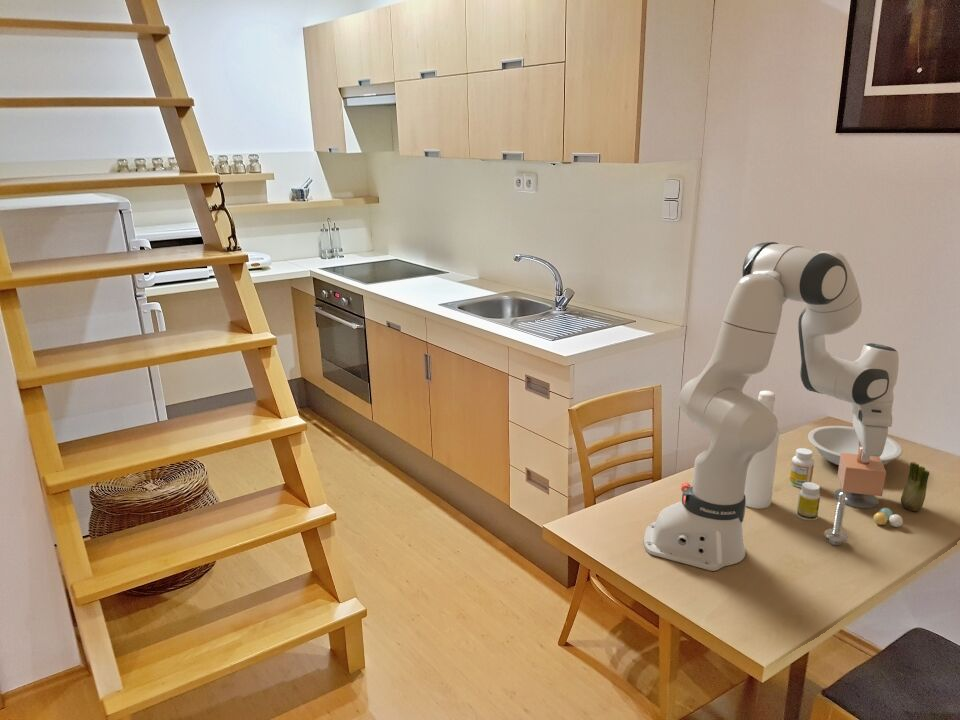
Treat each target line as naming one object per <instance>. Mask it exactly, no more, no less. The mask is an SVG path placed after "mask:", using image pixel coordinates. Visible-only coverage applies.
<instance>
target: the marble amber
mask: <svg viewBox="0 0 960 720" xmlns="http://www.w3.org/2000/svg"><path fill="white" fill-rule="evenodd" d="M873 521H874V522H875V523H876V524H877V525H879V526H884V525H886V523H887V522H888V521H889V520H888V518H887V516H886V515H885V514H884V513H881V512H879V511H877V512H876V513H875V514H873Z"/></svg>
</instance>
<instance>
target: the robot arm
mask: <svg viewBox="0 0 960 720" xmlns="http://www.w3.org/2000/svg"><path fill="white" fill-rule="evenodd" d="M787 300H790V301H795V302H802V303H804V306H805V308H804V309H802V311H801V312H800V314H799V317H798V323H797V324H798V329H797V330H798V339H799V349H800V358H801V360H800V361H801V364H800V371H799V373H800V374H799V375H800V380H801V382H802V385H803V386H804V388H805V389H806V390H807V391H809V392H814V393H818V394H822V395H826V396H828V397H832V398H835V399H838V400H840V401H841V400H842V401H845V402H848V403H851V406H850V412H851V413H852V414H853V417H852V427H854V430H855V432H856V434H857V437H858V450H859V446H862V449H863V451H862V453H861V461H862V462H869V461H870V456H876V457H880V456H881V455H882V453H883V450H884V447H885V443H886V439H887V437H888V432H889V428H891V427H892V425H893V415H892V414H893V413H892V412H893V405H894V404H893V403H894V398H895V396H894V395H895V394H894V388H895V386H896V384H897V382H898V381H897V380H898V375H899V364H900V363H899V361H900V360H899V352H898V350H896V349H895V348H894V347H892V346H887V345H884V344H880V343H879V344H878V343H865V344H863V346H862V349H861V351H860V355H859V357H858V358H856V359H855V360H852V361H851V360H849V359H845V358H842V357H841V358H840V357H837V356H835V355H834V354H831V353H830V352H828V351H827V349H826V343H825V342H826V340H825V335H827V336H828V335H831V336H832V335H836V334H839V333H841V332H844V331H846V330H848V329H850V327H852V326H853V325H854V324H855V323H856V322H857V321H858V320H859V318H860V316H861V313H862V305H863V304H862V303H863V302H862V299H861V295H860V291H859V286H858V283H857V280H856V276H855V275H854V272H853V270H852V268H851V265H850V263H849V262H848V260H847V258H846V257H845V255H843V254H842V253H840V252H838V251H837V250H836V251H835V250H826V249H825V250H821V251H816V250H813V249H810V248H806V247H803V246H801V245H796V244H795V245H794V244H789V243H788V244H786V243H778V242H774V241H770V242H769V241H767V242H761V243H758V244H756V245H754V246H753V247H752V248H751V250H749V252H748V253H747V254H746V257H745V258H744V261H743V264H742V277H741V278H740V279H739V280H738V281H737V283H736V285H735V287H734V289H733V290H732V294H731V296H730V298H729V301H728V303H727V305H726V308H725V311H724V314H723V318H722V322H721V326H720V329H719V332H718V336H717V340H716V342H715V346H714V350H713V352H712V354H711V357H710V359H709V361H708V363H707V364H706V366H705V367H704V369H703V370H702V371H701V373H699V374H698V375H697V376H696V377H694V378H691V379H690V380H688V381H687V382H686V383H685V384H684V385H683V387H682V388H681V390H680V393H679V397H678V404H679V408H680V409H681V411H682V412H683V413H684V415H685V416H686V417H687V418H688V419H689V420H690V421H691V422H692V423H694V424H695V425H696V426H698V427H700V428H701V429H703V430H704V431H706V432H708V433H709V435H710V438H711V439H710V445H709V448H708V449H706V450H704V451H702V452H701V453H698V454H697V456H696V458H695V460H694V463H693V464H694V465H693V466H694V467H693V475H692V477H693V479H692V486H691V484H690V483H689V482H688V481H687V482H686V481H685V482H683V483H681V487H680V489H681V492H682V495H681V500H680V501H678V502H676V503H673V504H671V505H668V506H666V507H664V508H663V509H662V510H661V511H660V512H659V514H658V516H657V519H656V521H653V522H651V523H650V524H649V525H648V526H647V527H646V529H645V532H644V536H643V545H644V549H645V550H646V551H647V553H648V554H650V555H652V556H655V557H659V558H663V559H666V560H670V561H674V562H678V563H682V564H685V565H689V566H693V567H696V568H701V569H704V570H707V571H711V572H712V571H713V572H716V571H718V570H720V569H722V568H724V567H726V566H731V565H736V564H737V563H740V562H741V561H742V560H744V558H745V557H746V548H745V543H744V538H743V537H744V535H743V522H744V518H745V513H746V507H747V506H746V500H745V494H744V491H745V483H746V477H747V470H748V467H749V464H750V462H751V460H752V458H753V456H754V455H755V454H756V453H758V452H761V451H763V450H764V449H766V448H767V447H769V446H770V445H771V443H772V442H773V441H774V439H775V437H776V435H777V431H778V429H779V423H778V418H777V417H776V415H775V414H774V412H773V413H772V412H771V411H770V410H769V409H768V408H767V407H765V406H764V405H763V404H762V403H761V402H759V400H758V399H755V398H754V397H752V396H750V395H747V394H746V393H744V391H743V390H744V388H745V386H746V384H747V382H748V381H749V379H751V377H752V376H753V375H757V374H760V373H761V372H763V371H764V370H765V369H766V368H768V365H769V362H770V359H771V355H772V351H773V349H774V345H775V341H776V337H777V334H778V330H779V326H780V323H781V318H782V312H783V306H784V304H785V302H786V301H787Z"/></svg>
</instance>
